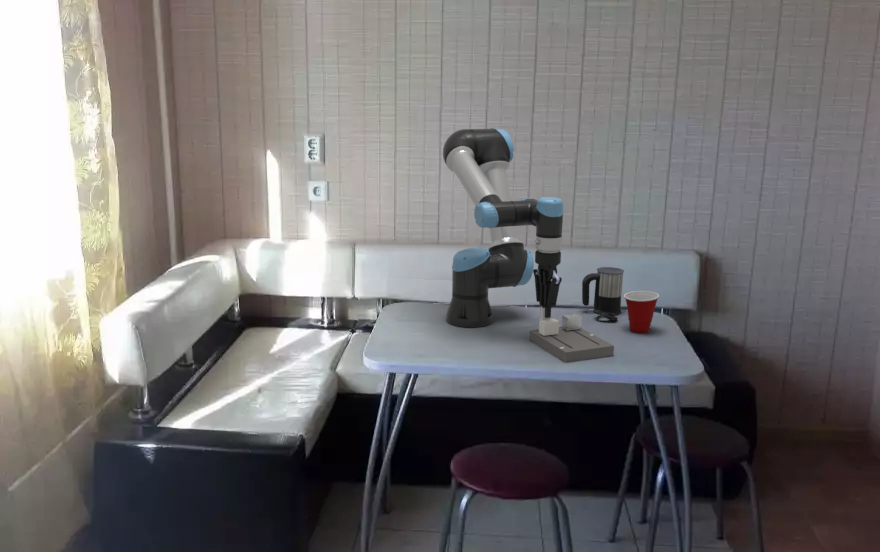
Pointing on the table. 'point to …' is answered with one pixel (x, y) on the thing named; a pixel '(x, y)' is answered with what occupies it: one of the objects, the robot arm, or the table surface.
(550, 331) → the fader
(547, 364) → the table surface
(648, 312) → the plastic cup
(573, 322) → the fader
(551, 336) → the slider panel
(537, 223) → the robot arm
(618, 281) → the milk frother
